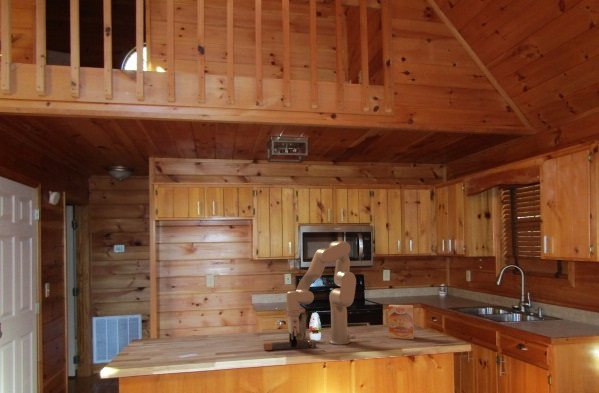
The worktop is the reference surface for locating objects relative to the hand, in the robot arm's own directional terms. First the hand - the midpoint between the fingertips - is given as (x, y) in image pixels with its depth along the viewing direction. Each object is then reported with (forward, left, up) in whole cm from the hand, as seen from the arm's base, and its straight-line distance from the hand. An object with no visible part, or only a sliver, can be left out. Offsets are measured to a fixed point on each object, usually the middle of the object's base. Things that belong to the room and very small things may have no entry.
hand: (293, 345), depth 256 cm
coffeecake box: (-70, -8, -2) cm, 71 cm away
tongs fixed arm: (+2, 0, -1) cm, 2 cm away
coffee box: (-7, -22, -2) cm, 23 cm away
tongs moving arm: (+3, +1, -1) cm, 4 cm away
